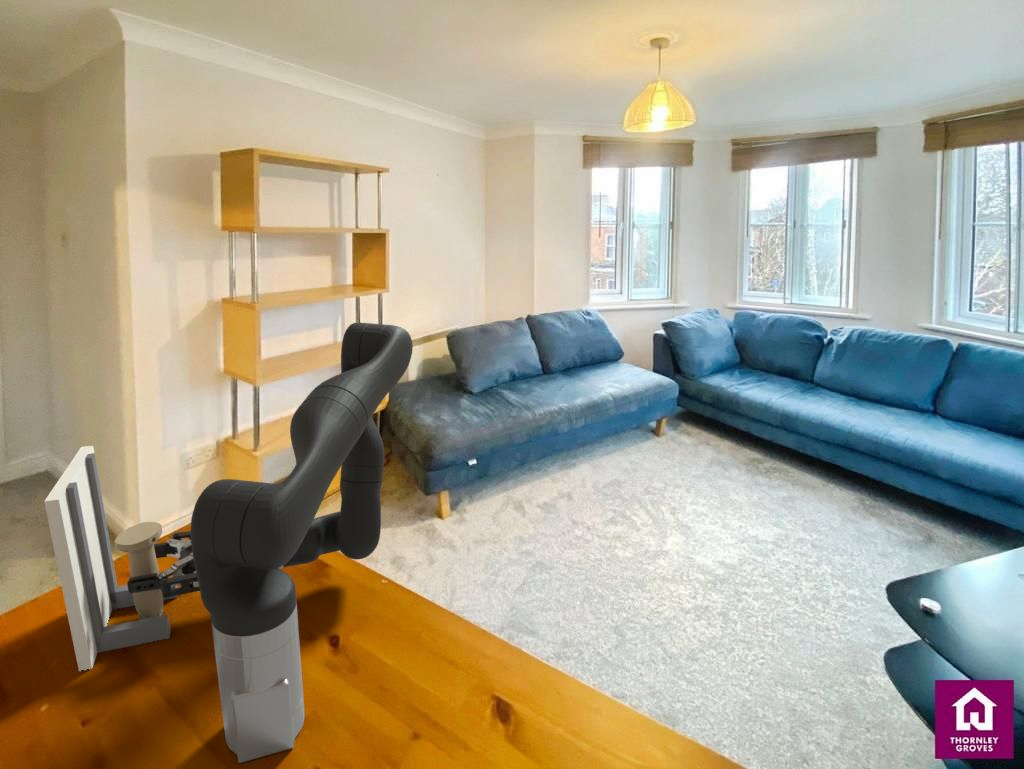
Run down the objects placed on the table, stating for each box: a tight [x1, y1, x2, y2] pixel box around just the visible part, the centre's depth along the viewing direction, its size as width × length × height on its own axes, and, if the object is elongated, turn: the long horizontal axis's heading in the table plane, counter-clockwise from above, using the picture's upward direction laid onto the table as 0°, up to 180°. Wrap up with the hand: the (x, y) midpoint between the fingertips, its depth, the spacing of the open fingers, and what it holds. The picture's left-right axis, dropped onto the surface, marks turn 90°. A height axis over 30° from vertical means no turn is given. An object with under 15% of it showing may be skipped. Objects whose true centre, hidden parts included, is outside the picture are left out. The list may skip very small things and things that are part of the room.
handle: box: [114, 521, 164, 620], centre depth 90 cm, size 5×6×15 cm
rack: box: [44, 445, 179, 672], centre depth 88 cm, size 18×10×26 cm, turn 23°
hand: (133, 569), depth 89 cm, fingers open, 8 cm apart
